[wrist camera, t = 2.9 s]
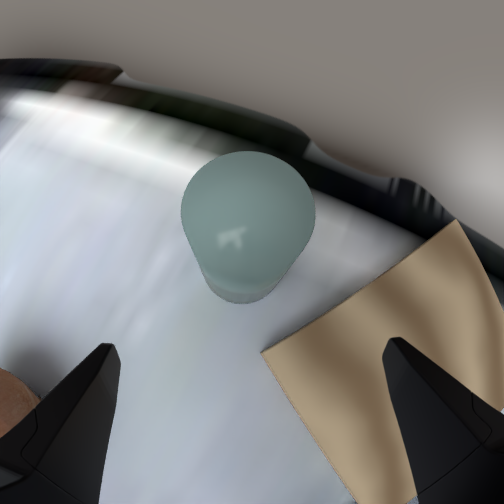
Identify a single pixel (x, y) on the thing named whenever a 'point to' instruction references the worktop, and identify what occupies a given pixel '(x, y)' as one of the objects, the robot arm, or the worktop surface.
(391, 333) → the oak board
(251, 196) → the ceramic jar
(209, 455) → the worktop surface
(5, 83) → the worktop surface
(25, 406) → the onion
